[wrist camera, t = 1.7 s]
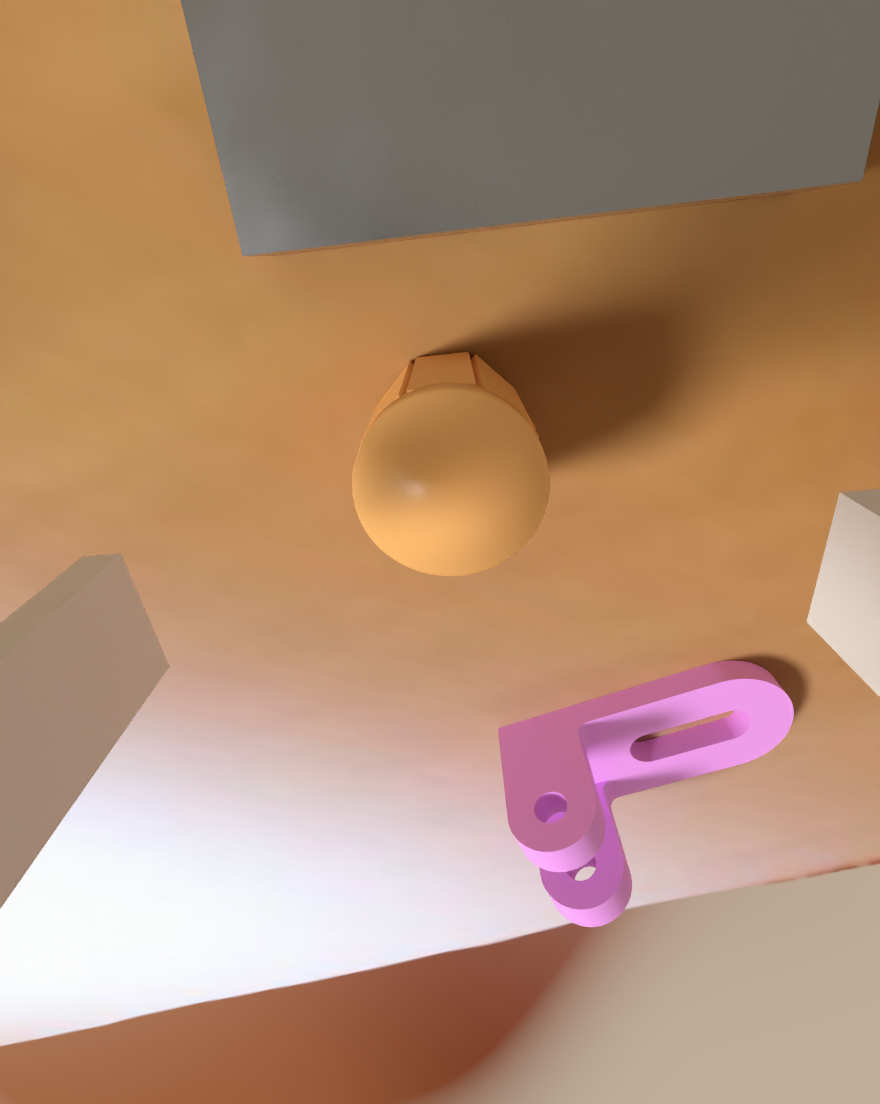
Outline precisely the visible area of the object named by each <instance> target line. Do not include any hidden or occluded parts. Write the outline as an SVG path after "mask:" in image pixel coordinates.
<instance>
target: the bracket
mask: <svg viewBox="0 0 880 1104" xmlns="http://www.w3.org/2000/svg"><path fill="white" fill-rule="evenodd" d="M727 711H734V713H732V714H731V715H730V716H728V717H726V718H724V719H720V720H717V721H713V722H710V723H706V724H703V725H699V726H696V727H692V728H689V729H685V730H682V731H678V732H675V733H671V734H668V735H665V736H661V737H658V738H654V739H651V740H647V741H643V742H635V740H636V739H638V738H639V737H641V736H644V735H647V734H651V733H654V732H658V731H661V730H665V729H668V728H672V727H675V726H679V725H682V724H685V723H689V722H692V721H696V720H699V719H703V718H706V717H710V716H713V715H717V714H720V713H724V712H727ZM793 716H794V709H793V705H792V702H791V700H790V698H789V696H788V695H787V694H786V693H785V691H784V690H783V689H782V687H781V686H780V685H779V684H778V682H777V681H776V680H775V678H774V677H773V676H772V675H771V674H770V673H769V672H768V671H767V670H765V669H764V668H762V667H760V666H758V665H756V664H753V663H750V662H745V661H735V660H731V661H719V662H714V663H710V664H707V665H703V666H700V667H697V668H694V669H690V670H687V671H684V672H681V673H677V674H674V675H671V676H667V677H664V678H661V679H658V680H654V681H651V682H648V683H645V684H641V685H638V686H635V687H632V688H628V689H625V690H622V691H619V692H615V693H612V694H609V695H606V696H602V697H599V698H596V699H593V700H589V701H586V702H583V703H580V704H576V705H573V706H570V707H567V708H563V709H560V710H557V711H554V712H550V713H547V714H544V715H541V716H537V717H534V718H531V719H528V720H524V721H521V722H518V723H515V724H511V725H508V726H505V727H502V728H498V733H499V742H500V752H501V761H502V770H503V779H504V788H505V797H506V807H507V816H508V823H509V826H510V829H511V831H512V833H513V835H514V836H515V838H516V840H517V841H518V843H519V845H520V847H521V848H522V850H523V852H524V853H525V855H526V856H527V858H528V859H529V860H530V861H531V862H532V863H533V864H535V865H536V866H538V867H539V868H540V874H541V879H542V882H543V885H544V887H545V889H546V890H547V892H548V894H549V896H550V897H551V899H552V901H553V902H554V904H555V906H556V907H557V909H558V910H559V912H560V913H561V914H562V915H563V916H564V917H565V918H567V919H568V920H569V921H571V922H573V923H575V924H578V925H581V926H586V927H597V926H602V925H604V924H607V923H609V922H611V921H613V920H614V919H615V918H617V917H618V916H619V915H620V914H621V913H622V912H623V910H624V909H625V907H626V906H627V904H628V902H629V899H630V896H631V890H632V880H631V874H630V870H629V867H628V864H627V860H626V857H625V854H624V850H623V847H622V844H621V840H620V837H619V834H618V830H617V827H616V823H615V820H614V817H613V813H612V810H611V803H612V801H613V800H614V799H615V798H617V797H620V796H624V795H627V794H631V793H635V792H639V791H642V790H646V789H650V788H654V787H657V786H661V785H665V784H669V783H672V782H676V781H680V780H684V779H687V778H691V777H695V776H699V775H702V774H706V773H710V772H714V771H717V770H721V769H725V768H728V767H732V766H736V765H740V764H743V763H746V762H749V761H752V760H754V759H756V758H758V757H760V756H762V755H764V754H766V753H767V752H769V751H770V750H771V749H773V748H774V747H775V746H776V745H777V744H779V743H780V742H781V740H782V739H783V738H784V737H785V736H786V734H787V733H788V731H789V729H790V727H791V725H792V722H793ZM588 866H591V867H595V868H596V870H595V872H594V874H593V875H592V876H591V877H590V878H589V879H587V880H584V881H577V880H575V876H576V874H577V873H578V871H579V870H581V869H582V868H584V867H588Z"/></svg>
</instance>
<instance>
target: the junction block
mask: <svg viewBox="0 0 880 1104" xmlns="http://www.w3.org/2000/svg"><path fill="white" fill-rule="evenodd" d="M181 4H182V8H183V12H184V16H185V20H186V24H187V28H188V33H189V37H190V41H191V45H192V49H193V53H194V57H195V61H196V66H197V70H198V74H199V78H200V82H201V86H202V90H203V94H204V98H205V103H206V107H207V111H208V115H209V119H210V123H211V127H212V131H213V136H214V140H215V144H216V148H217V152H218V156H219V160H220V164H221V169H222V173H223V177H224V181H225V185H226V189H227V193H228V197H229V202H230V206H231V210H232V214H233V218H234V222H235V226H236V230H237V234H238V239H239V243H240V247H241V251H242V255H243V256H278V255H286V254H294V253H302V252H311V251H319V250H327V249H335V248H344V247H352V246H360V245H368V244H377V243H385V242H393V241H401V240H410V239H418V238H426V237H434V236H443V235H451V234H459V233H467V232H476V231H484V230H492V229H501V228H509V227H517V226H525V225H534V224H542V223H550V222H558V221H567V220H575V219H583V218H591V217H600V216H608V215H616V214H624V213H633V212H641V211H649V210H657V209H666V208H674V207H682V206H690V205H699V204H707V203H715V202H723V201H732V200H740V199H748V198H757V197H765V196H773V195H781V194H790V193H797V192H803V191H808V190H814V189H820V188H825V187H831V186H837V185H842V184H848V183H854V182H859V181H862V180H863V175H864V171H865V166H866V161H867V157H868V152H869V148H870V143H871V138H872V134H873V129H874V125H875V120H876V115H877V111H878V106H879V102H880V0H181Z"/></svg>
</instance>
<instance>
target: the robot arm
mask: <svg viewBox="0 0 880 1104" xmlns="http://www.w3.org/2000/svg"><path fill="white" fill-rule="evenodd" d="M807 623H808V624H809V625H810V626H811V627H812V628H813V629H814V630H815V631H816V632H817V633H818V634H819V635H820V636H821V637H822V638H823V639H824V640H825V641H826V642H827V643H828V644H829V645H830V646H831V647H832V648H833V649H834V650H835V652H836V653H837V654H838V655H839V656H840V657H841V658H842V659H843V660H844V661H845V662H846V663H847V664H848V665H849V666H850V667H851V668H852V669H853V670H854V671H855V672H856V673H857V674H858V675H859V676H860V677H861V678H862V679H863V680H864V681H865V682H866V684H867V685H868V686H869V687H870V688H871V689H872V690H873V691H874V692H875V693H876V694H877V695H878V696H879V697H880V489H874V490H862V491H850V492H840V493H839V497H838V501H837V505H836V509H835V513H834V517H833V521H832V525H831V529H830V533H829V537H828V541H827V544H826V548H825V552H824V556H823V560H822V564H821V568H820V572H819V576H818V580H817V584H816V588H815V592H814V596H813V599H812V603H811V607H810V611H809V615H808V619H807ZM168 667H169V664H168V662H167V660H166V657H165V655H164V653H163V650H162V648H161V646H160V643H159V641H158V639H157V636H156V634H155V632H154V629H153V627H152V625H151V622H150V620H149V618H148V615H147V613H146V611H145V608H144V606H143V604H142V601H141V599H140V597H139V594H138V592H137V590H136V587H135V585H134V583H133V580H132V578H131V576H130V573H129V571H128V569H127V566H126V564H125V562H124V559H123V557H122V555H121V553H120V554H108V555H96V556H84V557H82V558H81V559H79V560H78V561H77V562H76V563H74V564H73V565H72V566H71V567H69V568H68V569H67V570H66V571H64V572H63V573H62V574H61V575H59V576H58V577H57V578H56V579H54V580H53V581H52V582H51V583H49V584H48V585H47V586H46V587H45V588H43V589H42V590H41V591H40V592H38V593H37V594H36V595H35V596H33V597H32V598H31V599H30V600H28V601H27V602H26V603H25V604H23V605H22V606H21V607H20V608H18V609H17V610H16V611H15V612H13V613H12V614H11V615H10V616H8V617H7V618H6V619H5V620H4V621H2V622H1V623H0V908H1V907H2V906H3V904H4V903H5V901H6V900H7V898H8V897H9V896H10V894H11V893H12V891H13V890H14V888H15V887H16V885H17V884H18V883H19V881H20V880H21V878H22V877H23V875H24V874H25V873H26V871H27V870H28V868H29V867H30V865H31V864H32V863H33V861H34V860H35V858H36V857H37V855H38V854H39V852H40V851H41V850H42V848H43V847H44V845H45V844H46V842H47V841H48V840H49V838H50V837H51V835H52V834H53V832H54V831H55V830H56V828H57V827H58V825H59V824H60V822H61V821H62V819H63V818H64V817H65V815H66V814H67V812H68V811H69V809H70V808H71V807H72V805H73V804H74V802H75V801H76V799H77V798H78V797H79V795H80V794H81V792H82V791H83V789H84V788H85V786H86V785H87V784H88V782H89V781H90V779H91V778H92V776H93V775H94V774H95V772H96V771H97V769H98V768H99V766H100V765H101V764H102V762H103V761H104V759H105V758H106V756H107V755H108V753H109V752H110V751H111V749H112V748H113V746H114V745H115V743H116V742H117V741H118V739H119V738H120V736H121V735H122V733H123V732H124V731H125V729H126V728H127V726H128V725H129V723H130V722H131V720H132V719H133V718H134V716H135V715H136V713H137V712H138V710H139V709H140V708H141V706H142V705H143V703H144V702H145V700H146V699H147V698H148V696H149V695H150V693H151V692H152V690H153V689H154V687H155V686H156V685H157V683H158V682H159V680H160V679H161V677H162V676H163V675H164V673H165V672H166V670H167V669H168Z"/></svg>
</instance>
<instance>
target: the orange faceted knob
mask: <svg viewBox="0 0 880 1104" xmlns="http://www.w3.org/2000/svg"><path fill="white" fill-rule="evenodd" d="M549 490H550V476H549V468H548V463H547V459H546V456H545V453H544V451H543V448H542V446H541V444H540V437H539V435H538V433H537V431H536V429H535V427H534V425H533V423H532V421H531V419H530V417H529V415H528V413H527V411H526V409H525V407H524V406H523V404H522V402H521V400H520V398H519V396H518V394H517V392H516V390H515V388H514V387H513V386H512V385H510V384H509V383H508V382H507V381H506V380H505V379H504V378H502V377H501V376H500V375H499V374H498V373H497V372H496V371H494V370H493V369H492V368H491V367H490V366H489V365H488V364H486V363H485V362H484V361H483V360H482V359H481V358H480V357H478V356H477V355H476V354H475V355H474V356H473V358H472V359H471V360H470V356H469V352H461V353H452V354H442V355H433V356H424V357H416V359H415V363H414V364H413V363H411V362H410V361H409V363H408V364H407V365H406V366H405V368H404V369H403V370H402V372H401V373H400V374H399V376H398V377H397V378H396V380H395V381H394V382H393V384H392V385H391V386H390V388H389V389H388V390H387V392H386V393H385V394H384V396H383V397H382V398H381V400H380V401H379V403H378V405H377V407H376V409H375V412H374V414H373V416H372V418H371V421H370V423H369V425H368V427H367V429H366V432H365V434H364V436H363V438H362V440H361V443H360V445H359V451H358V453H357V457H356V460H355V463H354V468H353V474H352V493H353V501H354V505H355V508H356V512H357V514H358V517H359V519H360V522H361V524H362V525H363V527H364V529H365V531H366V532H367V534H368V535H369V536H370V538H371V539H372V540H373V542H374V543H375V544H376V545H377V546H378V547H379V548H380V549H381V550H382V551H383V552H385V553H386V554H387V555H388V556H390V557H391V558H392V559H394V560H396V561H397V562H399V563H401V564H403V565H405V566H407V567H409V568H411V569H414V570H417V571H420V572H423V573H428V574H433V575H441V576H461V575H468V574H473V573H477V572H481V571H484V570H487V569H489V568H492V567H494V566H496V565H498V564H500V563H502V562H504V561H505V560H507V559H508V558H510V557H511V556H513V555H514V554H515V553H516V552H517V551H519V550H520V549H521V548H522V547H523V546H524V545H525V544H526V543H527V541H528V540H529V539H530V538H531V537H532V535H533V534H534V532H535V531H536V529H537V528H538V526H539V524H540V522H541V520H542V518H543V516H544V513H545V510H546V507H547V503H548V498H549Z"/></svg>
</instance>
